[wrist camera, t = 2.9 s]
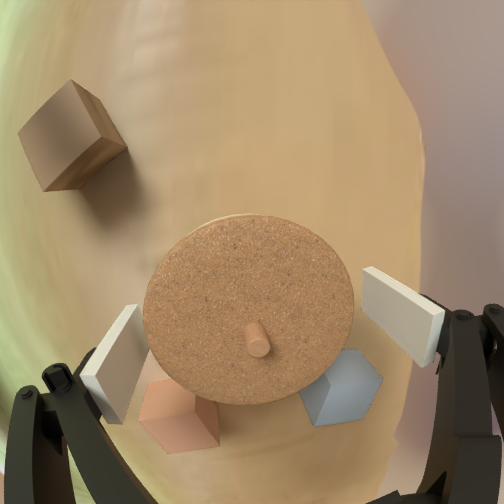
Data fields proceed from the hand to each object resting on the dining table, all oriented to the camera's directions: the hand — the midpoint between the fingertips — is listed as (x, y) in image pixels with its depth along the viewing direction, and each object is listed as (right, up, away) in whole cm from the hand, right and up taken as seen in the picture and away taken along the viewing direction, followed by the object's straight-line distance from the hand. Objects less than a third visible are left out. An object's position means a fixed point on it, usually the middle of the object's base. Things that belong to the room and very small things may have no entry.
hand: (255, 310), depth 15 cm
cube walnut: (-12, +11, +1) cm, 17 cm away
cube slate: (+7, -8, +9) cm, 14 cm away
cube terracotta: (-7, -10, +7) cm, 14 cm away
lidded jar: (-1, +1, +6) cm, 6 cm away
